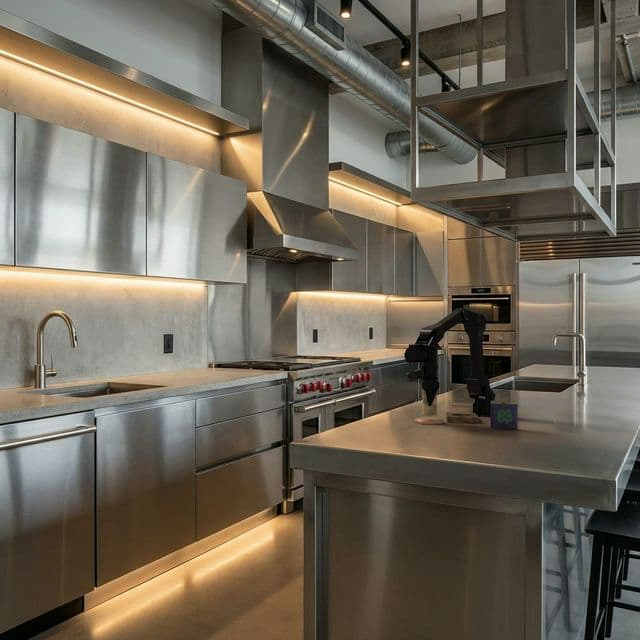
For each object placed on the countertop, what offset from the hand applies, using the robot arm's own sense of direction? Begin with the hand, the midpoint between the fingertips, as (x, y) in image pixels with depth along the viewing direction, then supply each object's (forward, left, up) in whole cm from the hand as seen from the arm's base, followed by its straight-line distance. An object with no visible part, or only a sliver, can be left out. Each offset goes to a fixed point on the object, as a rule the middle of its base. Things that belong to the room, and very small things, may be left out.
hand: (429, 405), depth 226 cm
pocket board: (-12, -7, -6) cm, 15 cm away
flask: (-25, +9, -6) cm, 27 cm away
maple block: (0, 0, -4) cm, 4 cm away
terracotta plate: (0, 0, -6) cm, 6 cm away
